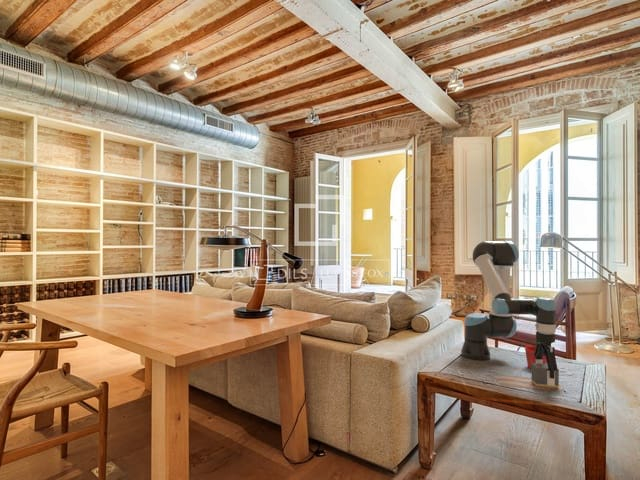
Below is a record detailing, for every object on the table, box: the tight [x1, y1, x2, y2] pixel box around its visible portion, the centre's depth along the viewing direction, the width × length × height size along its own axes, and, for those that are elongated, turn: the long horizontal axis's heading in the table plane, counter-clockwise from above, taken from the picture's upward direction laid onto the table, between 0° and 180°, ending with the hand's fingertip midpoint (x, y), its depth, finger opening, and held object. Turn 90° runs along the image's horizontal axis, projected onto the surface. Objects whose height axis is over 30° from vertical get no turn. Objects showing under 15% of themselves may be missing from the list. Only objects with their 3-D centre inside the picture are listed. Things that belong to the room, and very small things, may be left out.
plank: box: [493, 374, 567, 394], centre depth 168 cm, size 13×26×1 cm, turn 78°
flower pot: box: [524, 345, 547, 369], centre depth 189 cm, size 11×11×10 cm
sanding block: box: [530, 363, 560, 387], centre depth 167 cm, size 6×9×8 cm, turn 78°
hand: (544, 379), depth 167 cm, fingers open, 13 cm apart
